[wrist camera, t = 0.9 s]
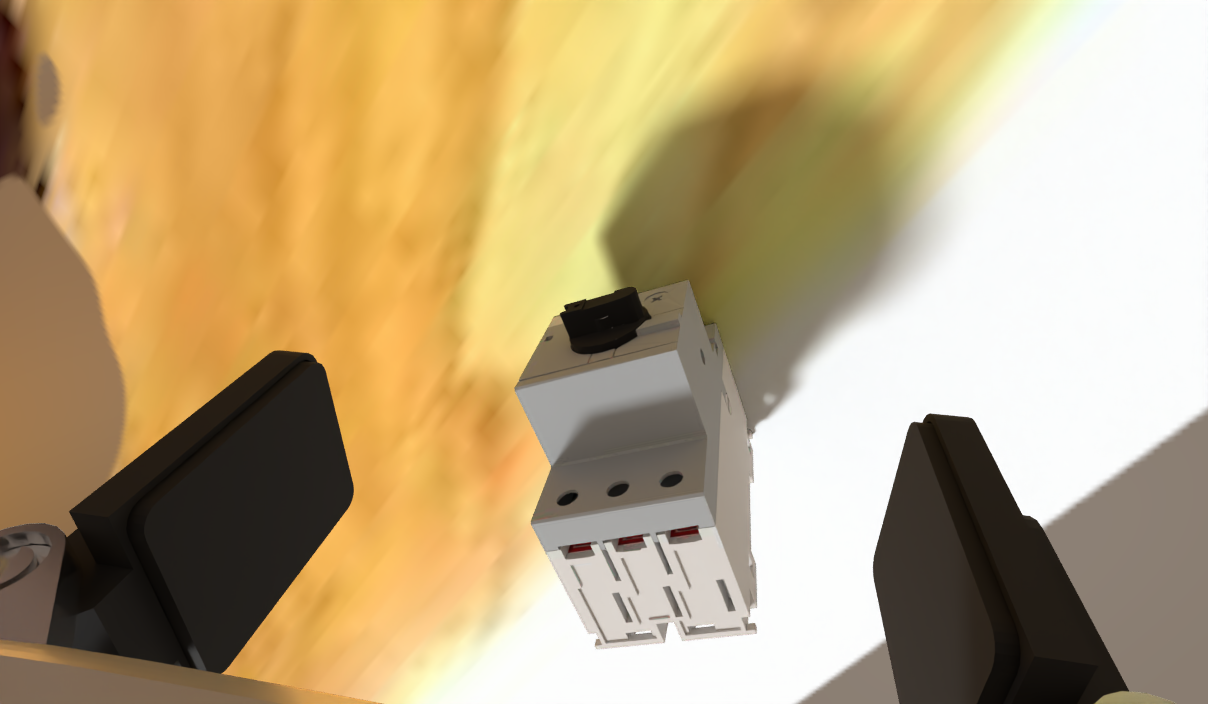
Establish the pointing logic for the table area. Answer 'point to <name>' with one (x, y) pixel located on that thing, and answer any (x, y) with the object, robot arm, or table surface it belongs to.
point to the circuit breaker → (643, 468)
